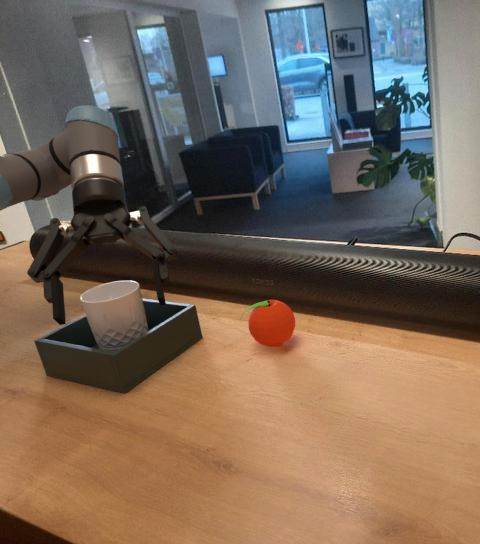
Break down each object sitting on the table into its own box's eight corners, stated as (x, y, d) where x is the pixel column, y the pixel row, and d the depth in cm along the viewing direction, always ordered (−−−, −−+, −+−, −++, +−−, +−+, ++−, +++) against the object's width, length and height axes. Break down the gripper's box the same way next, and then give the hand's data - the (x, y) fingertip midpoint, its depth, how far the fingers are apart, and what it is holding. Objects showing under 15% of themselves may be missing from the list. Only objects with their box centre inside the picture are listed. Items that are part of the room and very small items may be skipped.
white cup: (154, 356, 73) (138, 294, 69) (96, 370, 70) (75, 306, 67) (154, 333, 80) (139, 276, 76) (101, 346, 77) (83, 287, 73)
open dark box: (46, 375, 72) (33, 340, 69) (130, 326, 85) (122, 295, 83) (125, 393, 66) (113, 355, 63) (203, 337, 79) (195, 304, 77)
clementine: (242, 358, 72) (233, 314, 69) (248, 336, 78) (240, 295, 75) (297, 352, 72) (291, 308, 69) (298, 330, 78) (292, 289, 76)
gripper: (182, 193, 86) (203, 303, 78) (20, 215, 79) (24, 338, 71) (176, 166, 80) (198, 284, 72) (-2, 187, 72) (0, 320, 65)
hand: (112, 311), depth 72 cm, fingers open, 13 cm apart
